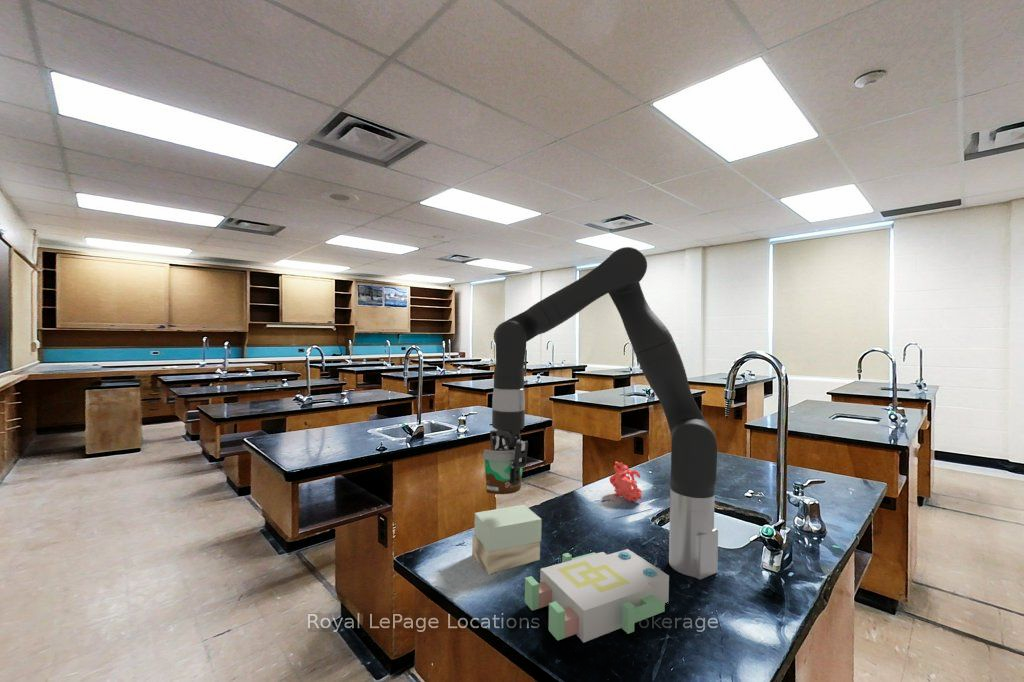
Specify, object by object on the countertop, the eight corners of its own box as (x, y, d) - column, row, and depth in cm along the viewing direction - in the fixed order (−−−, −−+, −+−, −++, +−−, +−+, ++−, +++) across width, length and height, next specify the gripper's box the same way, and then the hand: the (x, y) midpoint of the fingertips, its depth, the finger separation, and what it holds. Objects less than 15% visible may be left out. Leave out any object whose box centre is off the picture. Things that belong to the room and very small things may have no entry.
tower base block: (539, 560, 98) (540, 539, 98) (488, 575, 91) (489, 552, 91) (520, 543, 105) (520, 524, 105) (472, 556, 99) (472, 535, 99)
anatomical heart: (637, 511, 130) (632, 476, 128) (605, 499, 139) (600, 467, 137) (652, 497, 135) (647, 463, 133) (620, 487, 144) (615, 455, 142)
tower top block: (541, 540, 97) (541, 519, 97) (488, 551, 92) (488, 528, 91) (523, 524, 105) (524, 504, 105) (474, 533, 100) (474, 512, 100)
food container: (503, 501, 91) (503, 454, 90) (482, 494, 94) (482, 449, 94) (536, 485, 100) (537, 443, 100) (516, 479, 104) (516, 439, 104)
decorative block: (614, 537, 96) (687, 583, 78) (614, 565, 96) (686, 618, 78) (514, 563, 84) (573, 624, 67) (514, 595, 85) (572, 664, 67)
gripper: (539, 411, 93) (538, 487, 93) (507, 402, 106) (506, 469, 106) (509, 413, 89) (508, 493, 90) (480, 404, 102) (479, 473, 102)
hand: (507, 479), depth 98 cm, fingers closed on food container, 5 cm apart
